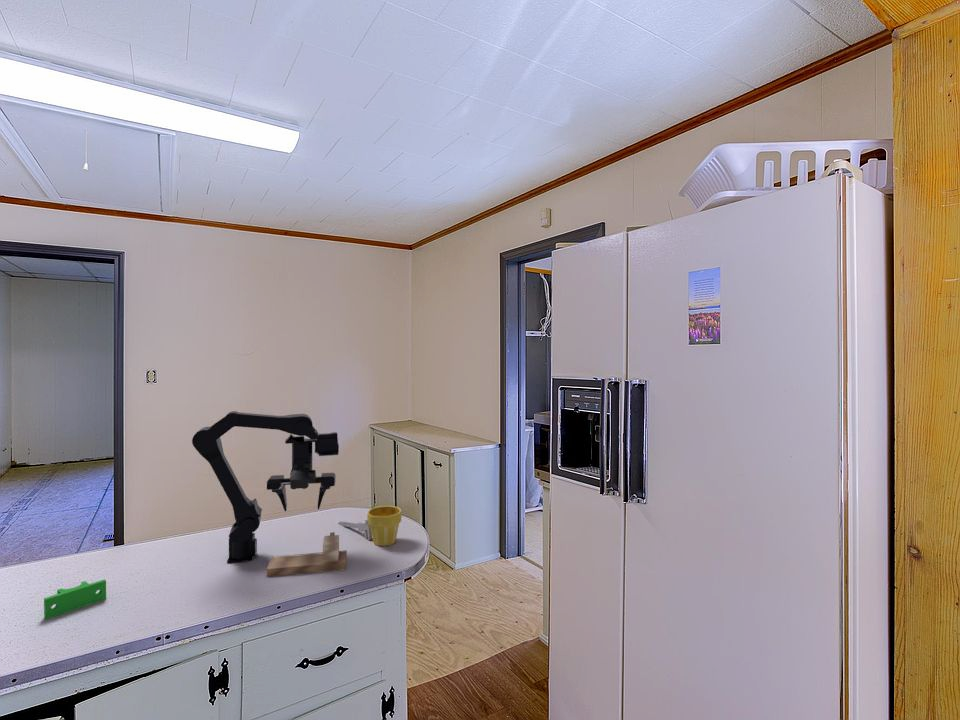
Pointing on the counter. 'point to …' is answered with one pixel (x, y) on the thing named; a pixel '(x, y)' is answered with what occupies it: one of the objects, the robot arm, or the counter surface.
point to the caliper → (359, 527)
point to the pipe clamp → (74, 598)
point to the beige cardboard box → (331, 548)
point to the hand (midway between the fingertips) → (302, 509)
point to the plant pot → (384, 524)
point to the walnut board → (304, 564)
